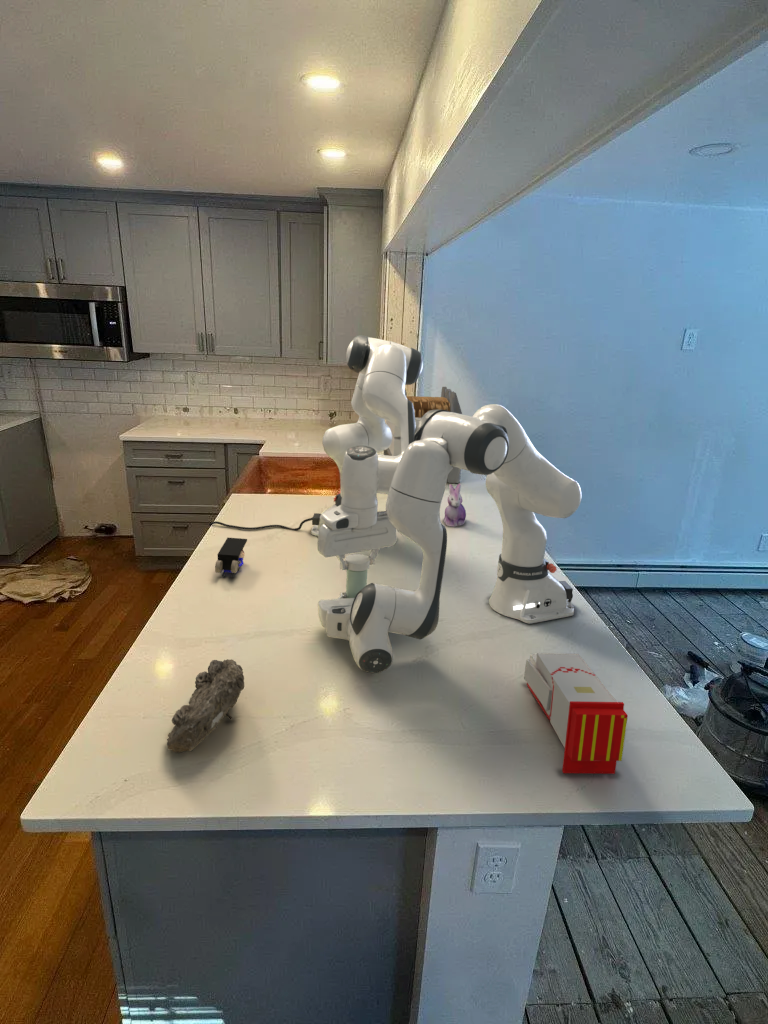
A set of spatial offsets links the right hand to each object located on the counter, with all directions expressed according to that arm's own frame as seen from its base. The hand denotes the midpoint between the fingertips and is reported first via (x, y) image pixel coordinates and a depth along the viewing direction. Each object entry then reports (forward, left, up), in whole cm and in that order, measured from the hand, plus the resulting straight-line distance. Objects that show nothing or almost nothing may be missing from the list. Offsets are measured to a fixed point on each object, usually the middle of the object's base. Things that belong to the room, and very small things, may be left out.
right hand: (355, 594), depth 145 cm
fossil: (+32, +35, -6) cm, 48 cm away
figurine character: (+32, -30, -6) cm, 44 cm away
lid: (0, +1, +10) cm, 10 cm away
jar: (0, +1, -6) cm, 6 cm away
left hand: (0, +1, +8) cm, 8 cm away
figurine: (-46, -62, -6) cm, 77 cm away
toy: (-35, +46, -6) cm, 58 cm away
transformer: (-50, -129, -6) cm, 138 cm away
